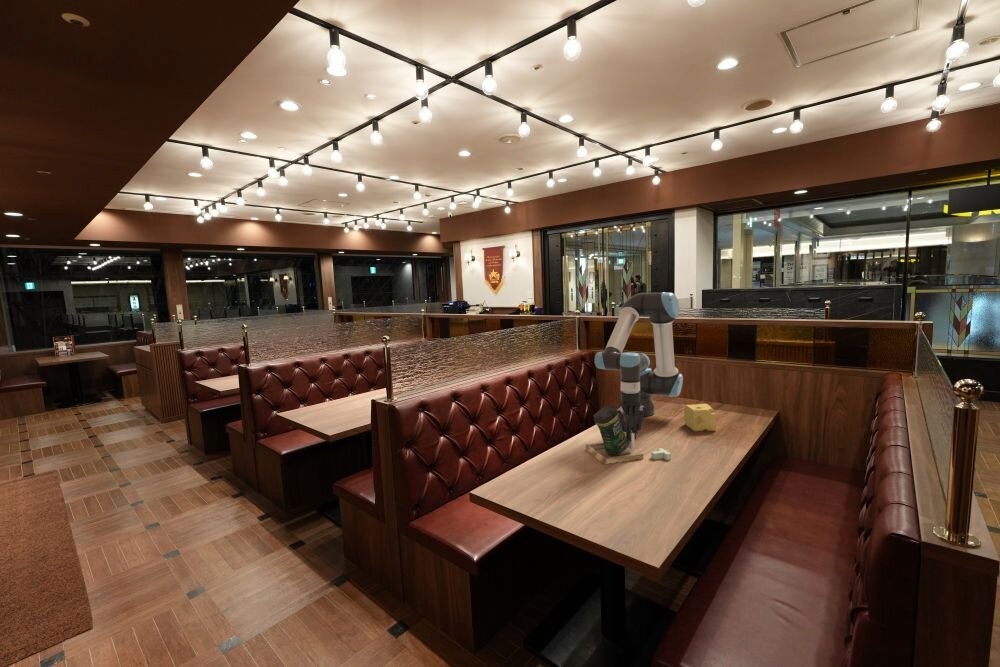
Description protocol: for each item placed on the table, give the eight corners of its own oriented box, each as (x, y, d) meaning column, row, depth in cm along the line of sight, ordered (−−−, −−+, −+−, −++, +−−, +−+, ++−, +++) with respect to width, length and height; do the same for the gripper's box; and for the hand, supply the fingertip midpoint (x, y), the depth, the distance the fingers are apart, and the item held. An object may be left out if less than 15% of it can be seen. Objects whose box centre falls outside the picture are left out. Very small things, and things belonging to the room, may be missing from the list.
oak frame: (586, 449, 181) (585, 444, 181) (622, 444, 185) (622, 439, 185) (603, 464, 166) (603, 459, 165) (643, 458, 169) (643, 453, 169)
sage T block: (648, 455, 172) (648, 449, 172) (661, 453, 174) (661, 448, 173) (657, 461, 166) (657, 455, 166) (671, 459, 168) (671, 453, 167)
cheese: (716, 431, 196) (716, 409, 195) (692, 431, 196) (692, 410, 195) (706, 423, 207) (706, 403, 205) (683, 424, 207) (683, 404, 206)
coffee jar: (618, 457, 170) (603, 417, 166) (603, 454, 176) (588, 415, 172) (633, 443, 175) (618, 404, 171) (618, 440, 181) (603, 402, 177)
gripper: (620, 395, 168) (621, 453, 171) (650, 391, 171) (650, 448, 174) (611, 390, 176) (612, 446, 178) (639, 387, 179) (640, 442, 181)
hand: (631, 447), depth 176 cm, fingers closed
